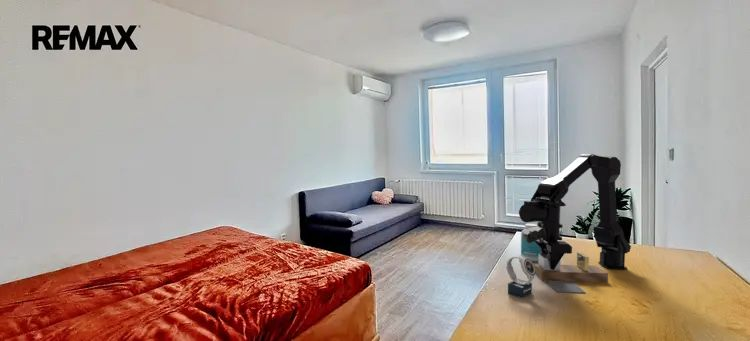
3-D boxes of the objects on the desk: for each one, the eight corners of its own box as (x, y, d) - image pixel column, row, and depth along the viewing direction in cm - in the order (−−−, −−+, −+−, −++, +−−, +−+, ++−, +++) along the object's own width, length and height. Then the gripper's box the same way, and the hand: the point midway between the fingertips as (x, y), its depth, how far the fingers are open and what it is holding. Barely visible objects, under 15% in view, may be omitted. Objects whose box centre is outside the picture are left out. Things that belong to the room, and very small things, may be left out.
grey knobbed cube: (553, 265, 114) (554, 252, 113) (560, 270, 109) (560, 256, 108) (538, 265, 114) (538, 251, 114) (544, 270, 109) (544, 256, 109)
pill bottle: (545, 262, 126) (546, 226, 125) (525, 262, 126) (526, 227, 125) (536, 256, 133) (537, 222, 132) (517, 256, 133) (518, 222, 132)
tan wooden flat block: (580, 265, 113) (581, 252, 112) (588, 271, 108) (588, 257, 107) (574, 265, 113) (574, 252, 113) (581, 270, 108) (582, 256, 108)
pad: (572, 282, 107) (572, 281, 106) (585, 293, 99) (585, 292, 99) (546, 281, 107) (546, 280, 107) (557, 292, 99) (557, 291, 99)
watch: (528, 300, 94) (529, 262, 94) (502, 291, 101) (503, 255, 100) (538, 295, 98) (539, 258, 97) (512, 286, 104) (513, 251, 103)
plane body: (595, 274, 113) (596, 265, 113) (607, 282, 106) (608, 273, 106) (534, 272, 115) (534, 264, 115) (541, 280, 108) (542, 271, 108)
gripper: (515, 214, 120) (515, 256, 121) (534, 226, 102) (533, 276, 103) (548, 214, 119) (547, 257, 120) (573, 226, 101) (572, 277, 102)
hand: (549, 266), depth 111 cm, fingers closed on grey knobbed cube, 5 cm apart
